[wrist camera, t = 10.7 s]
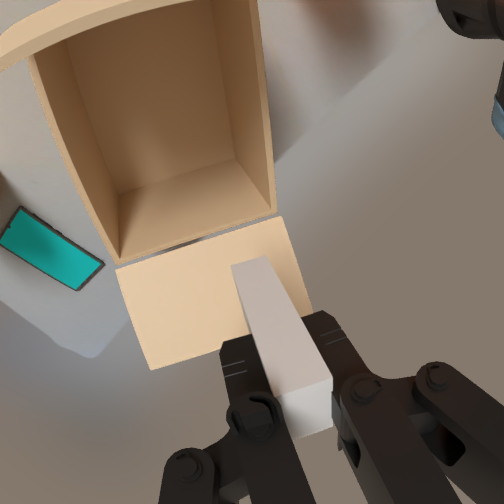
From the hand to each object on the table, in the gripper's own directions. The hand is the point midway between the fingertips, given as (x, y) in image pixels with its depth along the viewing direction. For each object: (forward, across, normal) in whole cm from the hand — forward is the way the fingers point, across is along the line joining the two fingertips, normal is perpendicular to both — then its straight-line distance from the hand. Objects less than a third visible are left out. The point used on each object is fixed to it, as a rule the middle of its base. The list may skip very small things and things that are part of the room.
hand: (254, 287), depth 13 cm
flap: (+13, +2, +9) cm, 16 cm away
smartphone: (+28, +24, +5) cm, 37 cm away
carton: (+24, +4, -10) cm, 26 cm away
